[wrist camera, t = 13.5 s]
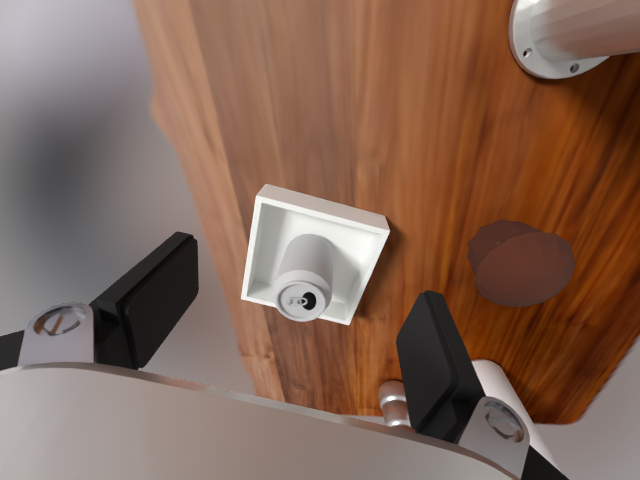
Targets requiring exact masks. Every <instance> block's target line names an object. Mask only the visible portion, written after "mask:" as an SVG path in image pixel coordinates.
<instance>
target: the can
mask: <svg viewBox="0 0 640 480" xmlns="http://www.w3.org/2000/svg"><path fill="white" fill-rule="evenodd" d="M333 262H334V254H333V249H332V247H331V245H330V244H329V243H328V242H327V240H326V239H324V238H322V237H320V236H318V235H314V234H302V235H299V236H296V237H295V238H294V239H292V240H291V241H290V243H289V244H288V246H287V248H286V251H285V254H284V256H283V259H282V262H281V265H280V268H279V270H278V273H277V276H276V279H275V282H274V285H273V289H272V293H273V298H274V300H275V304H276V307H277V309H278V310H279V312H280V313H282V314H283V315H284V316H285V317H287V318H289V319H291V320H295V321H310V320H314V319H316V318H318V317H319V316H320V315H321V314H322V313H323V312H324V310H325V309H326V308H327V307H328V306H329V304H330V301H331V299H332V282H333Z"/></svg>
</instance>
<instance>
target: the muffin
mask: <svg viewBox="0 0 640 480" xmlns="http://www.w3.org/2000/svg"><path fill="white" fill-rule="evenodd" d="M468 259H469V262H470V264H471V266H472V269H473V271H474V274H475V276H476V280H475V284H476V286H477V288H478V290H479V292H480V294H481V296H483V297H484V298H486V299H488V300H490V301H492V302H494V303H497V304H499V305H503V306H514V307H526V306H530V305H534V304H538V303H542V302H544V301H546V300H548V299H549V298H551V297H553V296H555V295H556V294H557V293H558V292H559V291H560V290H562V289H563V288H564V287H565V286H566V285H567V284H568V283H569V280H570V278H571V275H572V273H573V270H574V266H575V263H574V256H573V253H572V249H571V246H570V243H569V242H567V241H566V240H564V239H562V238H561V237H559V236H558V235H556V234H554V233H545V232H542V231H540V230H538V229H535V228H533V227H531V226H528V225H526V224H523V223H521V222H510V221H506V220H499V221H497V222H495V223H492V224H490V225H487V226H484V227H481V228H480V229H479V231H478V232H477V234H476V235H475V236H474V237H473V238H472V239H471V240H470V241H469V252H468Z"/></svg>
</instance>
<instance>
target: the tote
mask: <svg viewBox="0 0 640 480" xmlns="http://www.w3.org/2000/svg"><path fill="white" fill-rule="evenodd" d="M389 232H390V229H389V226H388V223H387V221H386V218H385V216H384V215H380V214H376V213H373V212H369V211H365V210H362V209H358V208H354V207H350V206H347V205H343V204H339V203H336V202H332V201H328V200H325V199H321V198H317V197H314V196H310V195H306V194H303V193H299V192H295V191H291V190H288V189H284V188H280V187H277V186H273V185H269V184H265V185H264V186H263V188H262V189H261V190H260V191H259V193H258V194H257V195H256V201H255V207H254V214H253V221H252V227H251V234H250V241H249V248H248V254H247V261H246V268H245V274H244V281H243V288H242V295H241V299H243V300H248V301H252V302H256V303H260V304H264V305H268V306H272V307H276V304H275V300H274V298H273V293H272V289H273V285H274V282H275V279H276V276H277V273H278V270H279V268H280V265H281V262H282V259H283V256H284V254H285V251H286V248H287V246H288V244H289V243H290V241H291V240H292V239H294V238H295V237H296V236H299V235H302V234H314V235H318V236H320V237H322V238H324V239H326V240H327V242H328V243H329V244H330V245H331V247H332V249H333V254H334V262H333V282H332V299H331V301H330V304H329V306H328V307H327V308H326V309H325V310H324V312H323V313H322V314H321V315H320V316H319V317H318V318H322V319H326V320H330V321H334V322H338V323H342V324H346V325H349V324H350V322H351V319H352V317H353V315H354V313H355V310H356V308H357V306H358V303H359V301H360V299H361V296H362V294H363V292H364V290H365V287H366V285H367V283H368V280H369V278H370V276H371V274H372V271H373V269H374V267H375V264H376V262H377V260H378V258H379V255H380V253H381V251H382V248H383V246H384V244H385V242H386V239H387V237H388V235H389ZM276 308H277V307H276Z"/></svg>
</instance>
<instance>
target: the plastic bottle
mask: <svg viewBox="0 0 640 480" xmlns="http://www.w3.org/2000/svg"><path fill="white" fill-rule="evenodd" d="M378 398H379V402H380V406H381V409H382V412H383V416H384V420H385V425H386V426H389V427H393V428H397V429H401V430H405V431H409V432H413V433H416V432H415V430H414V429H412V428H411V425H410V420H409V414H408V409H407V403H406V397H405V391H404V385H403V383H402V382H400V381H396V380H390V381H386V382H384V383H383V384H382V385H381V386H380V388H379V392H378Z"/></svg>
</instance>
